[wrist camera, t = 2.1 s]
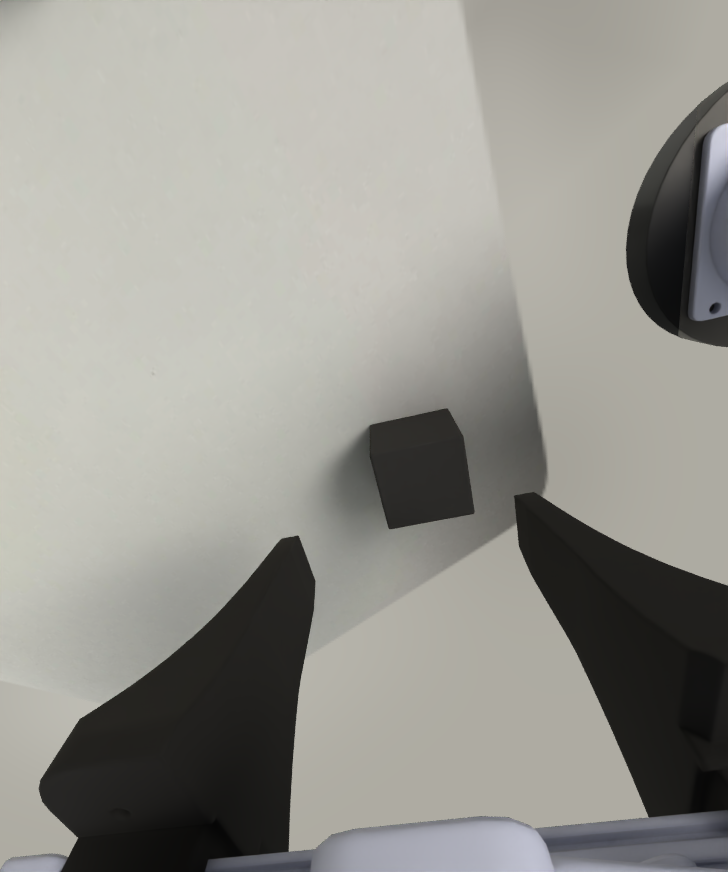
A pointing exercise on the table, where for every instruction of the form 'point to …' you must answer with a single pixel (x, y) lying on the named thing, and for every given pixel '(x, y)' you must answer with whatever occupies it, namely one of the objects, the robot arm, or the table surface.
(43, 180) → the table surface
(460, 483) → the black block
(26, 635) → the table surface
